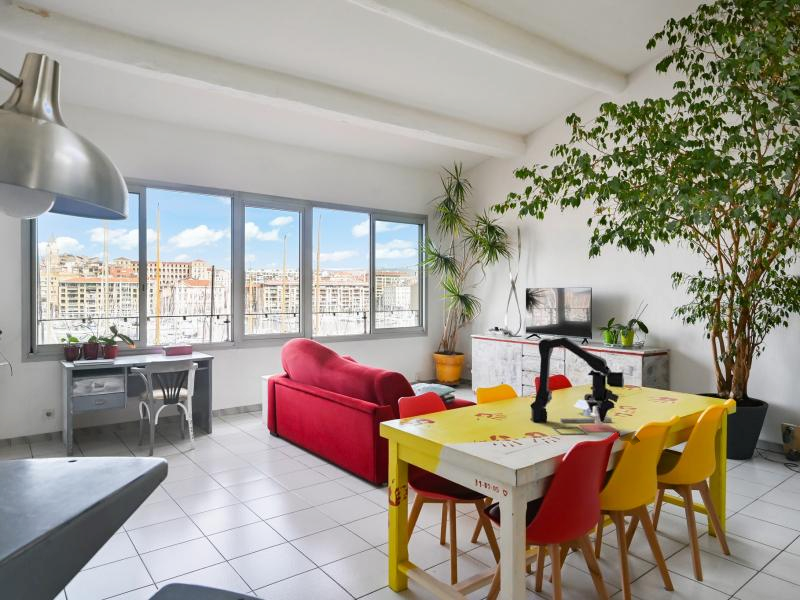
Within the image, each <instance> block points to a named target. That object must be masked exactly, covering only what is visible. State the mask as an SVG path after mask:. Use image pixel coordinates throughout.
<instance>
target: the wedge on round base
mask: <svg viewBox="0 0 800 600" xmlns="http://www.w3.org/2000/svg"><path fill="white" fill-rule="evenodd" d="M573 408H577V409H581V410H582V414H583V416H585V418H586V417H587V418H594V417H593V416H590V413H592V412H591V410H590V408H589V406H588V404H587V402H586V400H584V399H580V398H579V399H578V400H577V402H576V403H575V404H574V405H573Z"/></svg>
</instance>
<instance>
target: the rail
mask: <svg viewBox="0 0 800 600" xmlns="http://www.w3.org/2000/svg"><path fill="white" fill-rule="evenodd" d="M560 422H561V423H562V424H580V423H581V424H584V423H585V424H587V423H589V424H590V423H592V424H595V418H592V417H587V418H586V417H585V418H582V417H581V418H560ZM603 423H605V424H607V423H612V418H610V417H605V419H604V422H603ZM603 423H602V424H603Z"/></svg>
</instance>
